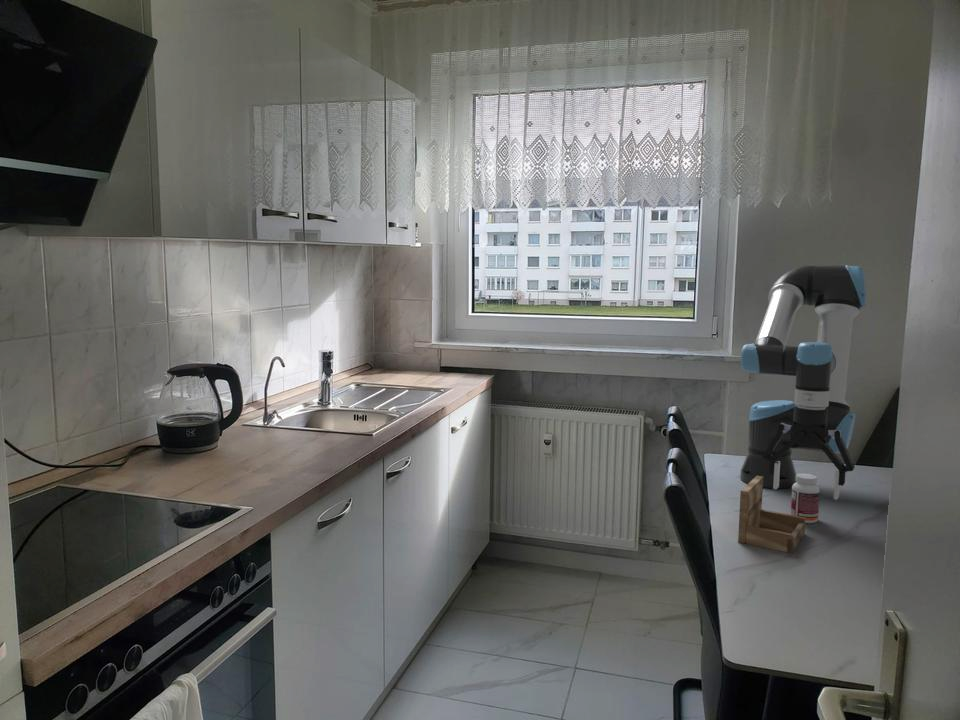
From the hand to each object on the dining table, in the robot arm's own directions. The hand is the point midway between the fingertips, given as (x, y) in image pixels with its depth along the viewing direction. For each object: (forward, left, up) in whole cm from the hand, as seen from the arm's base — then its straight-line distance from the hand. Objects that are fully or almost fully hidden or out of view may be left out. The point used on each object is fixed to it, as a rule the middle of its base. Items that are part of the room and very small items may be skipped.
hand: (805, 493), depth 175 cm
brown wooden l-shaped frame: (+17, -4, -7) cm, 18 cm away
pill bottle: (0, 0, -7) cm, 7 cm away
